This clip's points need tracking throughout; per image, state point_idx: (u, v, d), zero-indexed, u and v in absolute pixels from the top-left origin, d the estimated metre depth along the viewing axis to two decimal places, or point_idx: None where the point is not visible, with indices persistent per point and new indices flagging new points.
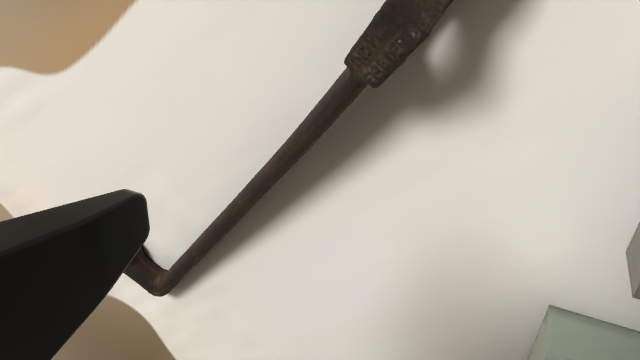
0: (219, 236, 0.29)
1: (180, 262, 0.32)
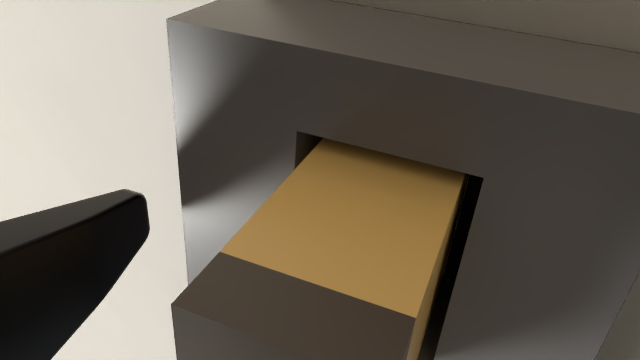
0: None
1: None
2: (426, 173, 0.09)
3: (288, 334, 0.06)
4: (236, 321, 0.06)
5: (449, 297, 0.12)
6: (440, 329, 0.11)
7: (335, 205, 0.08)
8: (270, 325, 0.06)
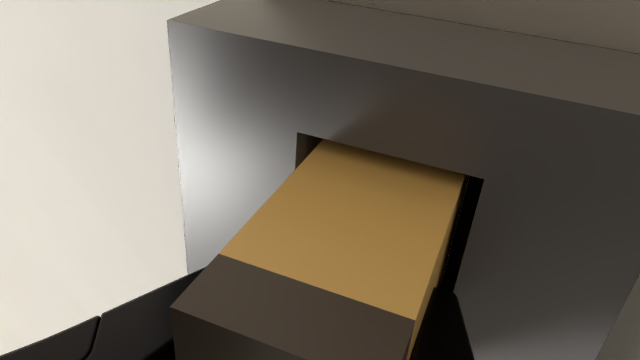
0: None
1: None
2: (426, 173, 0.09)
3: (286, 337, 0.06)
4: (235, 323, 0.06)
5: None
6: None
7: (334, 206, 0.08)
8: (269, 327, 0.06)
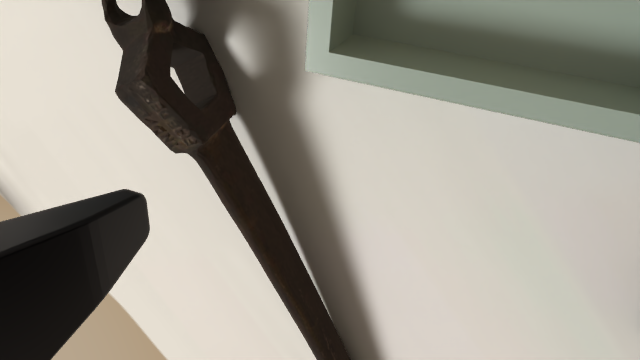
0: None
1: None
2: None
3: None
4: None
5: None
6: None
7: None
8: None
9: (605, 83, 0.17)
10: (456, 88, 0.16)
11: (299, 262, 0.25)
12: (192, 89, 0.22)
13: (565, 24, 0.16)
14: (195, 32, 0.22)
